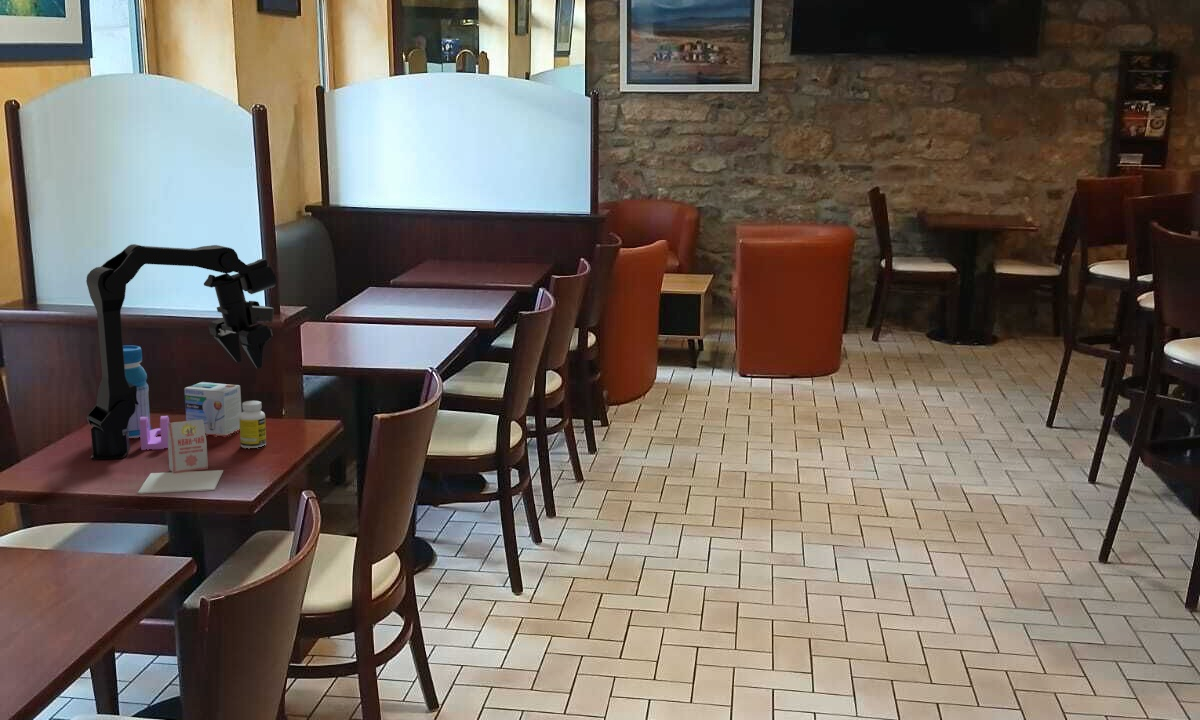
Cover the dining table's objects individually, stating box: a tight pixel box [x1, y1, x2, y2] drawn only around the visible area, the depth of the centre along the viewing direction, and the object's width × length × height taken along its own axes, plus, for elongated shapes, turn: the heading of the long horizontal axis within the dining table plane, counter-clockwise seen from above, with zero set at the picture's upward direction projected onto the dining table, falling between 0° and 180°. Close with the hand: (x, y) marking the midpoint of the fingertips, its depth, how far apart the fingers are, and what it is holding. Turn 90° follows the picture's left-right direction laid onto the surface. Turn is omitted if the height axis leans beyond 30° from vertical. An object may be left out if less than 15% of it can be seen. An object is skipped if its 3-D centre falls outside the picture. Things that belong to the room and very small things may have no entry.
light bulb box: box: [183, 381, 243, 435], centre depth 261 cm, size 11×7×11 cm, turn 73°
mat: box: [137, 469, 224, 495], centre depth 226 cm, size 14×12×1 cm
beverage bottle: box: [123, 345, 152, 439], centre depth 257 cm, size 8×8×20 cm
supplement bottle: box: [239, 400, 267, 450], centre depth 250 cm, size 5×5×10 cm
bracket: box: [139, 415, 170, 451], centre depth 253 cm, size 13×6×7 cm, turn 13°
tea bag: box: [167, 419, 209, 473], centre depth 233 cm, size 4×7×10 cm, turn 122°
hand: (249, 365), depth 262 cm, fingers open, 9 cm apart
